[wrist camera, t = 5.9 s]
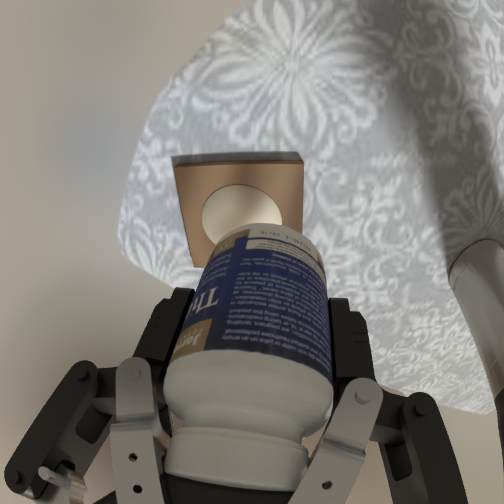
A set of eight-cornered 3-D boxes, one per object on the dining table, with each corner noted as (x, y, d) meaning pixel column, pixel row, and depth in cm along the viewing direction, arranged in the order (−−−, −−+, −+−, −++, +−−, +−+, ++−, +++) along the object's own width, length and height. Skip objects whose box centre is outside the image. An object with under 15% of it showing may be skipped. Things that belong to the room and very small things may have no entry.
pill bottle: (219, 204, 12) (118, 447, 4) (341, 237, 12) (372, 483, 4) (203, 293, 15) (146, 475, 7) (301, 317, 15) (291, 501, 8)
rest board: (303, 160, 25) (303, 164, 24) (300, 265, 32) (300, 271, 31) (177, 164, 27) (173, 168, 26) (196, 261, 34) (193, 267, 33)
